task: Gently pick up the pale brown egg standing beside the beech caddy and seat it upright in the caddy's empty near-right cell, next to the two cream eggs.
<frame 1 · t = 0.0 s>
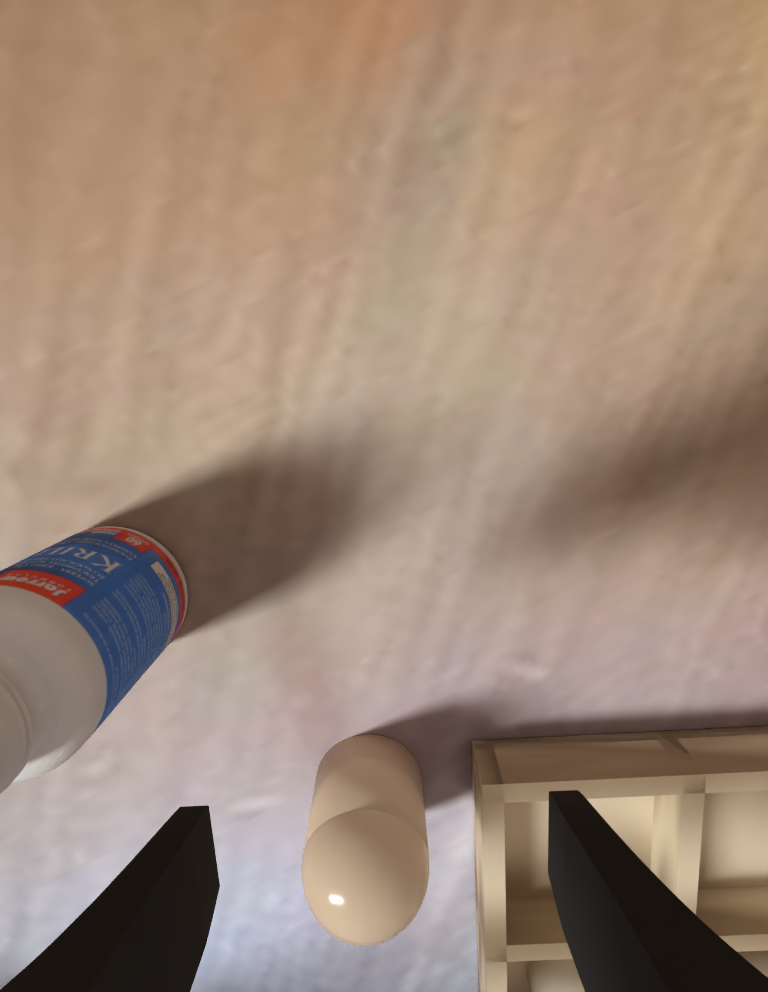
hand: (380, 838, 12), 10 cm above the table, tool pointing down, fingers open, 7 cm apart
cream egg A: (576, 969, 24), point 1 cm above the table, touching caddy
caddy: (653, 887, 24), on the table
cream egg B: (735, 962, 24), point 1 cm above the table, touching caddy
pill bottle: (123, 588, 21), on the table
brown egg: (369, 781, 23), on the table
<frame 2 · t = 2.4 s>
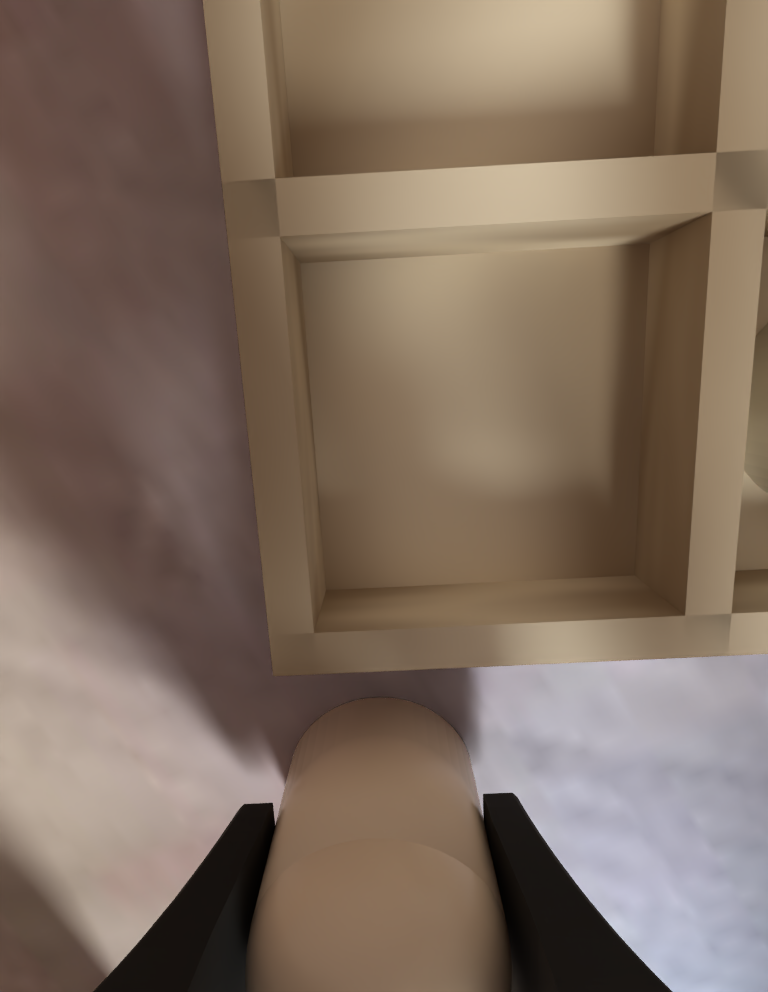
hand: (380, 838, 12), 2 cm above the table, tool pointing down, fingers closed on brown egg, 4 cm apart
caddy: (659, 226, 11), on the table
brown egg: (381, 779, 13), on the table, touching gripper
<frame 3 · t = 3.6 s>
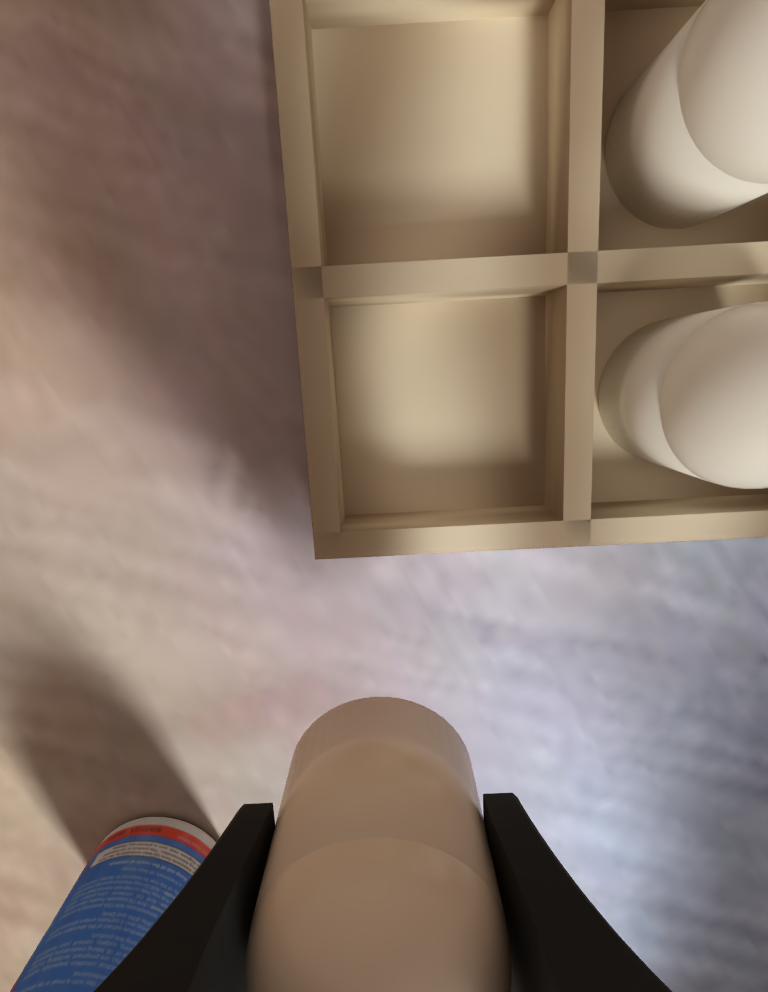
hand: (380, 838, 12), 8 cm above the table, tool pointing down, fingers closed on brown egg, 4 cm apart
cream egg A: (668, 391, 17), point 1 cm above the table, touching caddy
caddy: (554, 283, 17), on the table
cream egg B: (682, 145, 16), point 1 cm above the table, touching caddy
pill bottle: (166, 865, 22), on the table
brown egg: (381, 779, 13), point 6 cm above the table, touching gripper
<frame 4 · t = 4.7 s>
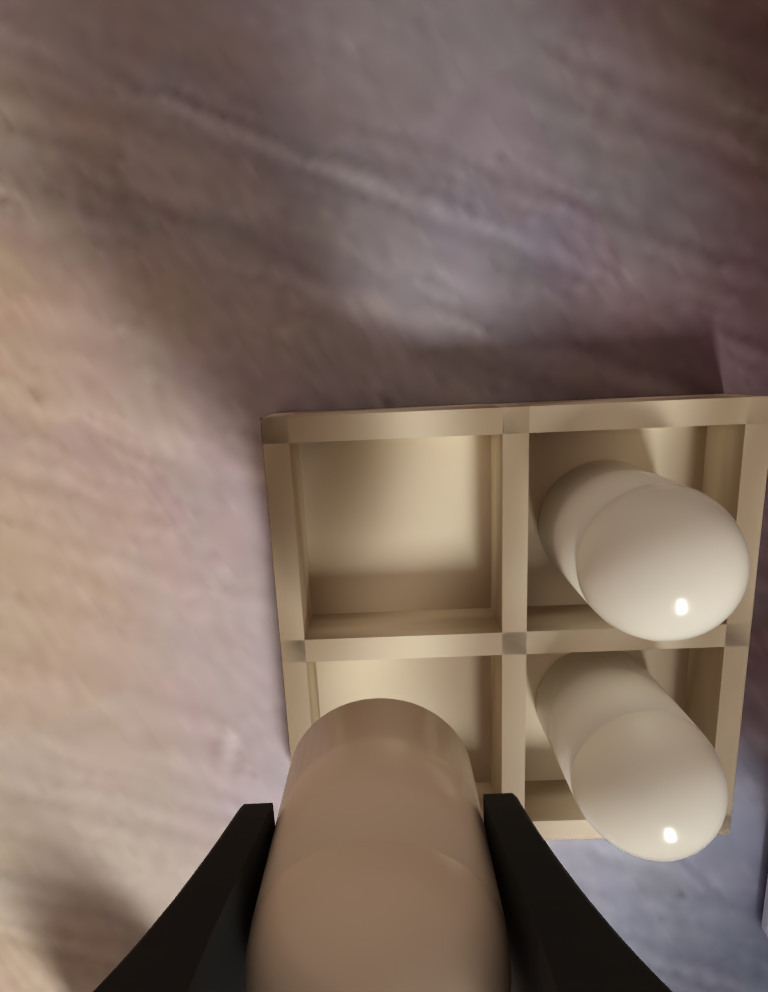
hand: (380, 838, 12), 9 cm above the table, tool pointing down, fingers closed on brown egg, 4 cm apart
cream egg A: (593, 699, 21), point 1 cm above the table, touching caddy
caddy: (499, 611, 21), on the table
cream egg B: (601, 522, 19), point 1 cm above the table, touching caddy
brown egg: (380, 780, 13), point 8 cm above the table, touching gripper
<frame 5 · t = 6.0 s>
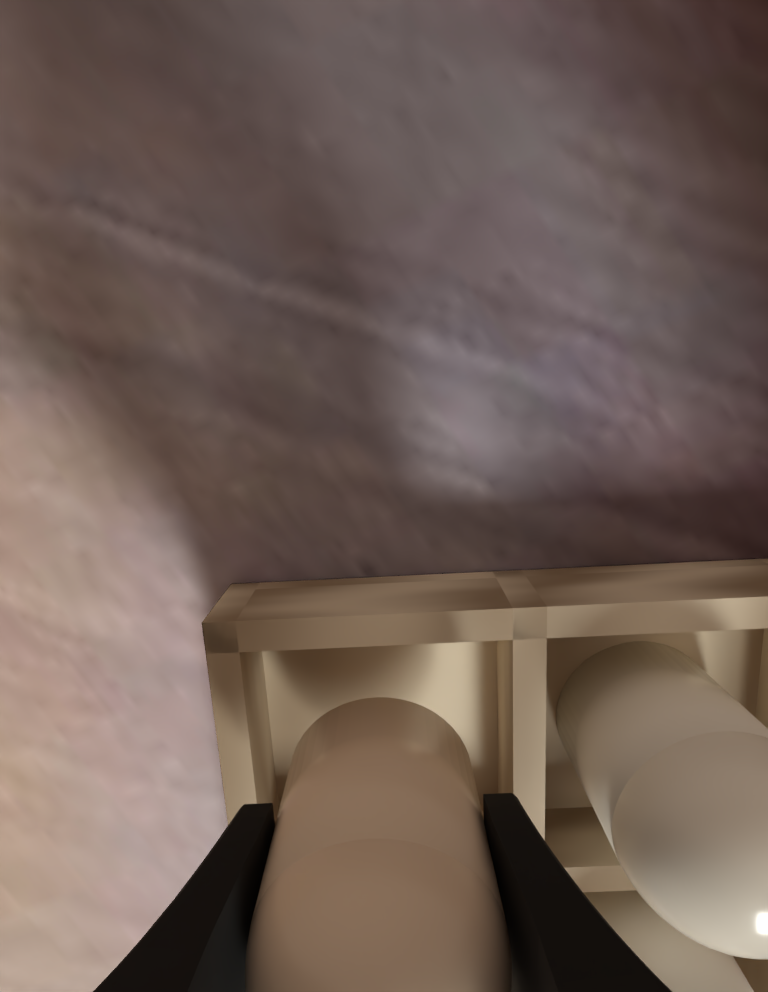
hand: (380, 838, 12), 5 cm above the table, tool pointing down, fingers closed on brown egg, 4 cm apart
cream egg A: (624, 913, 17), point 1 cm above the table, touching caddy
caddy: (508, 808, 17), on the table
cream egg B: (634, 713, 16), point 1 cm above the table, touching caddy
brown egg: (380, 779, 13), point 3 cm above the table, touching gripper
when the fingers open (3 cm above the table, at t = 7.2 s): brown egg stays where it is, resting on caddy.
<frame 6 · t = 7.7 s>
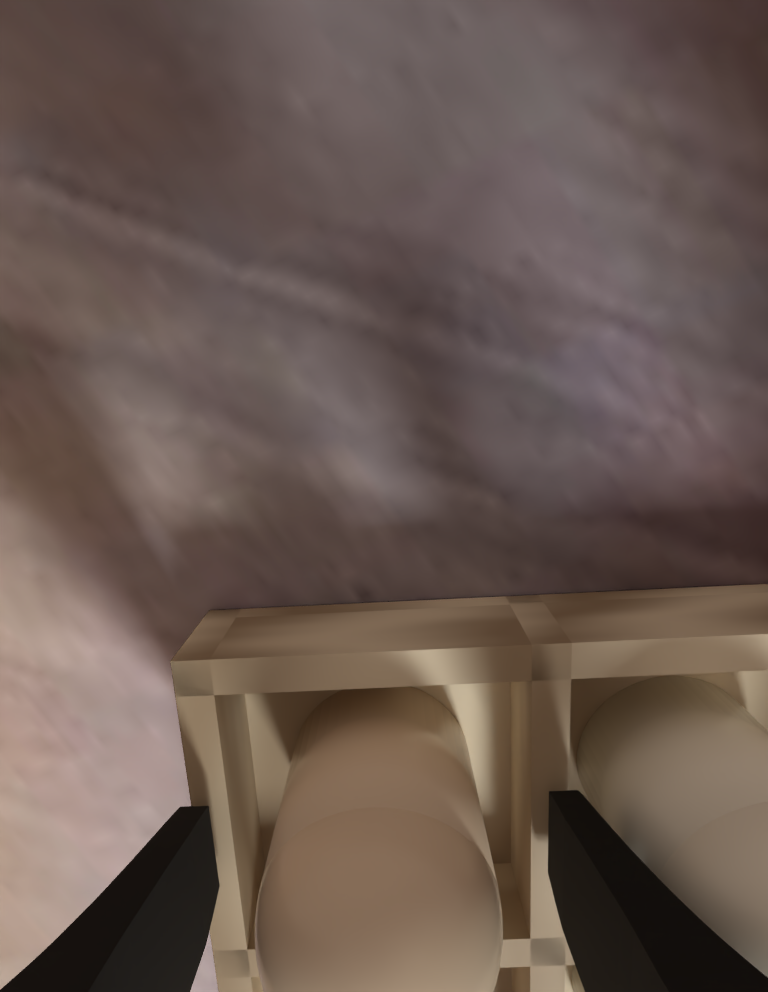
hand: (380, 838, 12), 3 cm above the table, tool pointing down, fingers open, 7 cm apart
caddy: (521, 858, 15), on the table
cream egg B: (664, 755, 14), point 1 cm above the table, touching caddy
brown egg: (381, 760, 14), point 1 cm above the table, touching caddy
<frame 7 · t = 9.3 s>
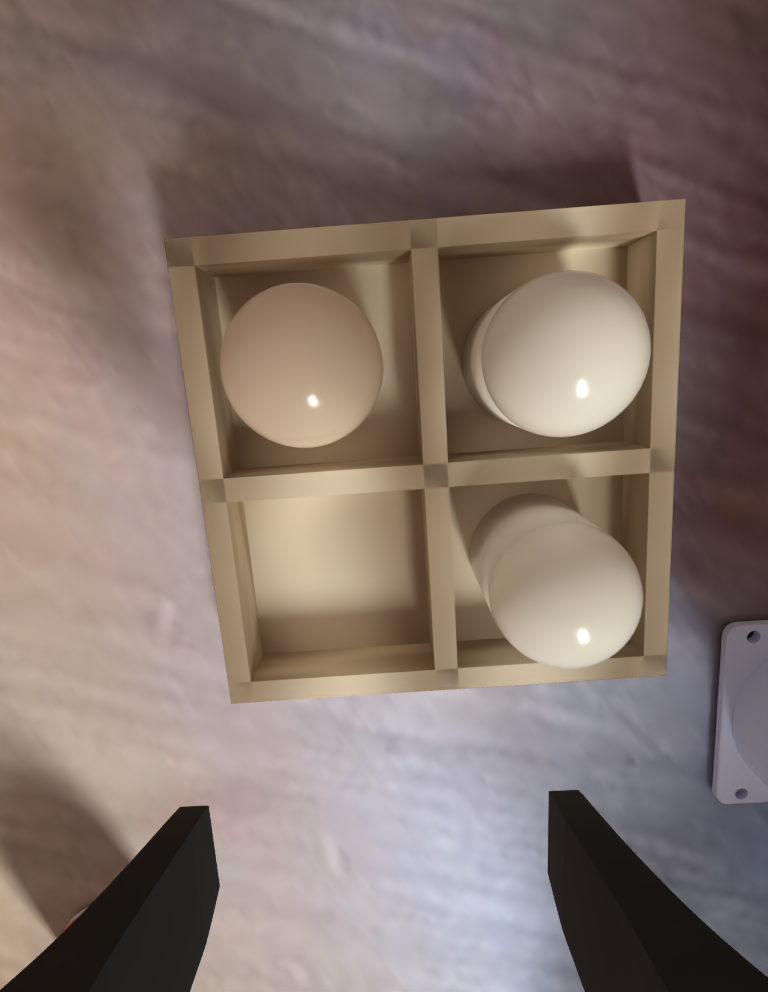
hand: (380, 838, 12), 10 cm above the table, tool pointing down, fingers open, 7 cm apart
cream egg A: (528, 551, 20), point 1 cm above the table, touching caddy
caddy: (429, 463, 20), on the table
cream egg B: (525, 360, 19), point 1 cm above the table, touching caddy
brown egg: (320, 369, 19), point 1 cm above the table, touching caddy
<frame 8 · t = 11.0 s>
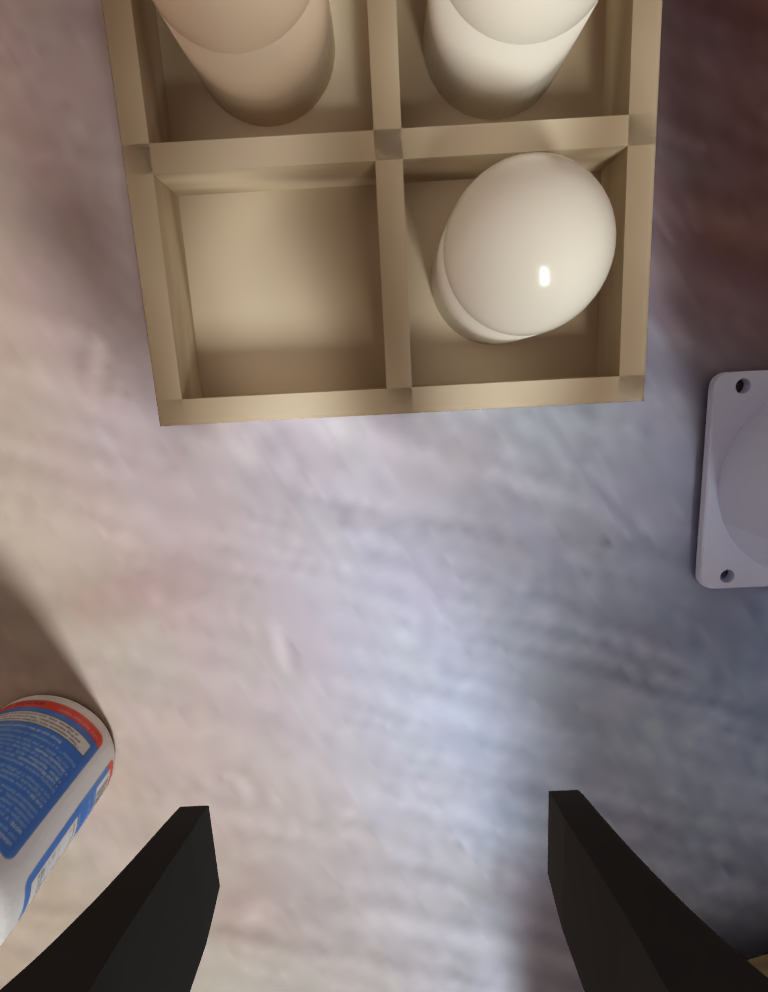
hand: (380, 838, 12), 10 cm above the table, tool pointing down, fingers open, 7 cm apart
cream egg A: (495, 277, 18), point 1 cm above the table, touching caddy
caddy: (387, 175, 18), on the table
cream egg B: (493, 40, 17), point 1 cm above the table, touching caddy
pill bottle: (57, 745, 23), on the table
brown egg: (264, 47, 17), point 1 cm above the table, touching caddy
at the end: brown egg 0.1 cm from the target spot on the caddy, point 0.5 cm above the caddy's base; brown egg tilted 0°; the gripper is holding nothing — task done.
